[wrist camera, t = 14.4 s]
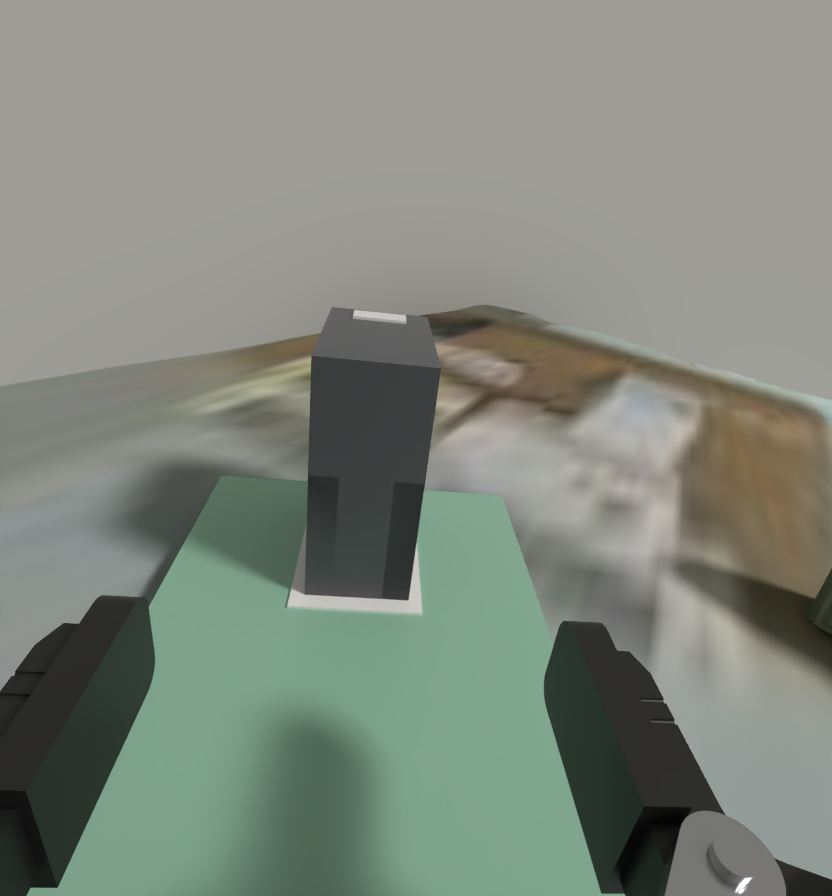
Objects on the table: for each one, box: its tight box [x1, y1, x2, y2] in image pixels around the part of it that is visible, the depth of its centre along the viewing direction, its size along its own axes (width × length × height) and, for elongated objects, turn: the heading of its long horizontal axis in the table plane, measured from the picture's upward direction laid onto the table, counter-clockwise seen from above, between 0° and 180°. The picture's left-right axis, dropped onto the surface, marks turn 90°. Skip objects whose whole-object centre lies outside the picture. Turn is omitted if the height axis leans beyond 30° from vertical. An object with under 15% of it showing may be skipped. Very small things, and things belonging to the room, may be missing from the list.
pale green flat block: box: [27, 475, 625, 896], centre depth 17 cm, size 22×14×5 cm, turn 3°
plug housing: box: [305, 307, 441, 601], centre depth 21 cm, size 6×4×9 cm, turn 3°
